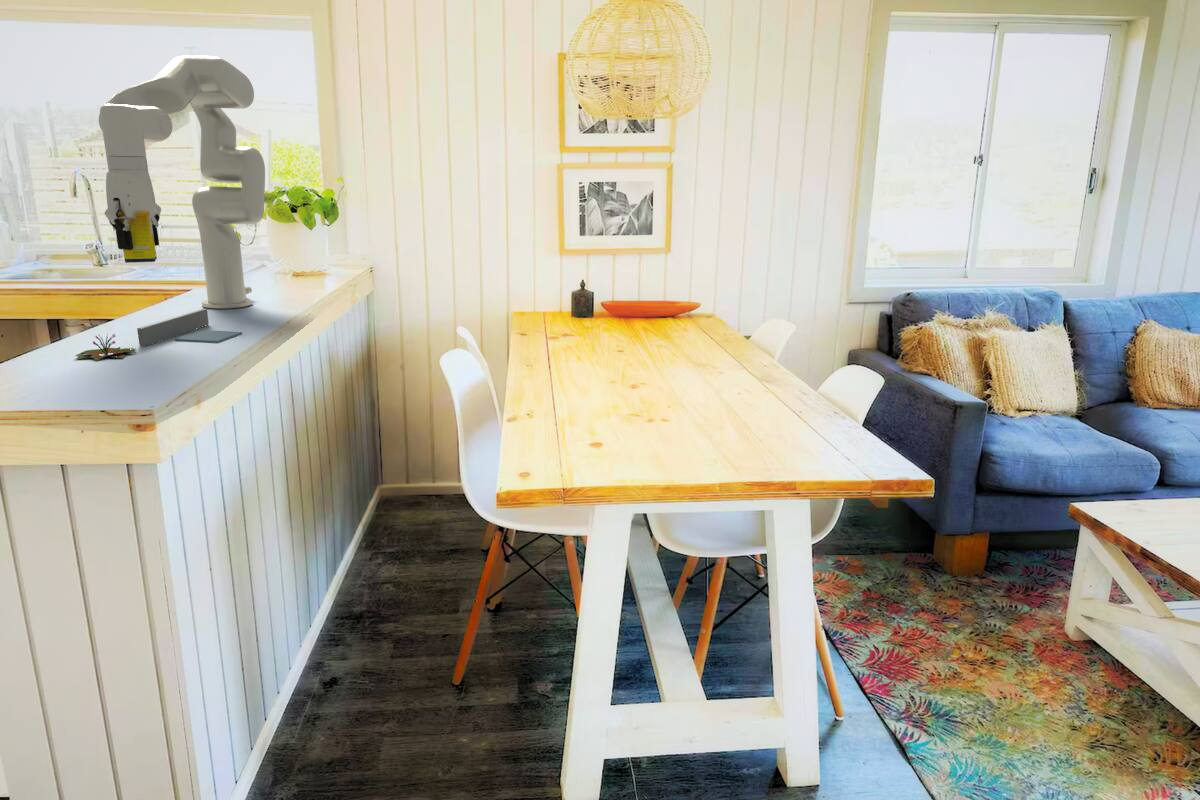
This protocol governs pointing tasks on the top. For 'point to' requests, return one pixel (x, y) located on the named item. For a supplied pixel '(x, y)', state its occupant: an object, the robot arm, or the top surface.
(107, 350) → the lily flower
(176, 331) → the low wall
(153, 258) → the supplement box
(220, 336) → the rubber mat
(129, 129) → the robot arm
